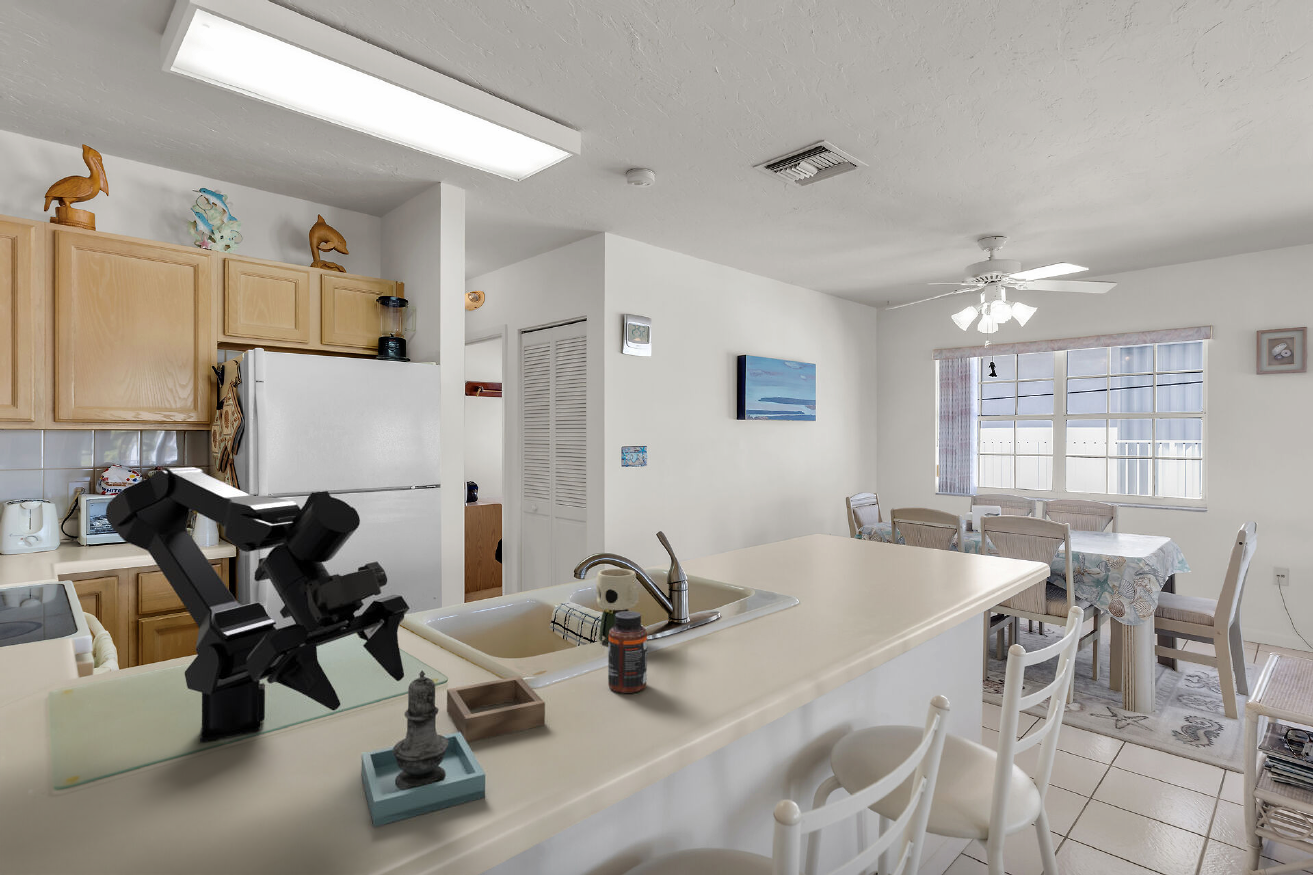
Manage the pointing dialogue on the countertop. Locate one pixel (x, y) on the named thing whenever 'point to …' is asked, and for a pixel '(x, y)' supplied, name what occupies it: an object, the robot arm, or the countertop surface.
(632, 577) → the character mug
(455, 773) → the tray
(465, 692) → the box
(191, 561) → the robot arm
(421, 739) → the salt shaker
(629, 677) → the supplement bottle
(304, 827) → the countertop surface
